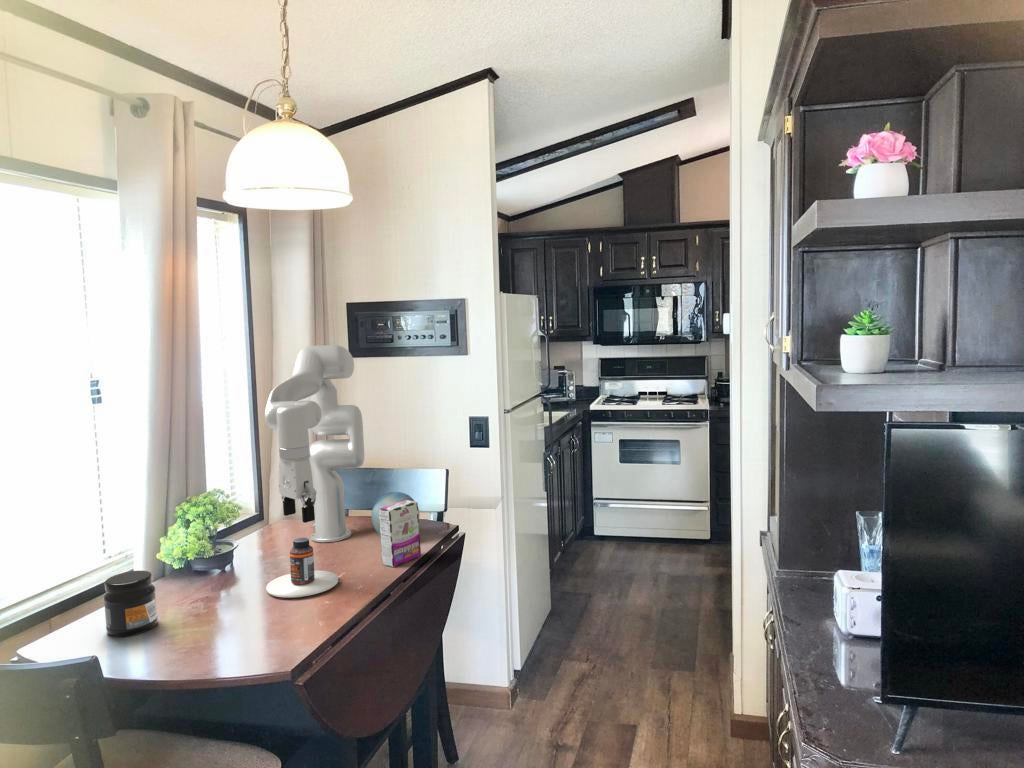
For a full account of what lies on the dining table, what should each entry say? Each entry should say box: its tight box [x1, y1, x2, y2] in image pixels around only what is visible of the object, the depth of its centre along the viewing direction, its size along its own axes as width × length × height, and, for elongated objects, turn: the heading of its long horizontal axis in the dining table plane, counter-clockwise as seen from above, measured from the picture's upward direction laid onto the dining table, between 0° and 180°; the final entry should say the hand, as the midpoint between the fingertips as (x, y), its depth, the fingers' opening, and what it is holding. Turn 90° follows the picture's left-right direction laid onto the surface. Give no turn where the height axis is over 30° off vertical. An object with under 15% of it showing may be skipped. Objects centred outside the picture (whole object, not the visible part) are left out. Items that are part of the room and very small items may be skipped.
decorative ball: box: [371, 491, 421, 536], centre depth 225 cm, size 15×15×15 cm
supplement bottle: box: [289, 537, 315, 585], centre depth 186 cm, size 6×6×11 cm
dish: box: [265, 569, 339, 599], centre depth 186 cm, size 18×18×1 cm
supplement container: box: [102, 570, 159, 637], centre depth 163 cm, size 10×10×12 cm
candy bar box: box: [379, 500, 422, 568], centre depth 203 cm, size 11×5×16 cm, turn 143°
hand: (299, 517), depth 185 cm, fingers open, 9 cm apart
